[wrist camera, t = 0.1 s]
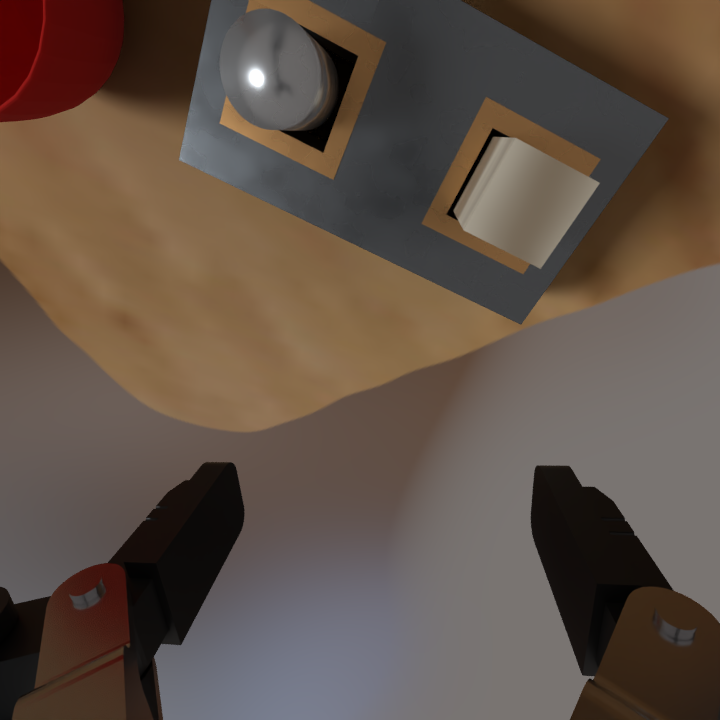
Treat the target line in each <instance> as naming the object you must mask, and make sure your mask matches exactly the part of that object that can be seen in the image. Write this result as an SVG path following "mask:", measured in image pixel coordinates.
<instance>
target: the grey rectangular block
mask: <svg viewBox="0 0 720 720" xmlns="http://www.w3.org/2000/svg"><path fill="white" fill-rule="evenodd" d="M599 184H600V183H599V182H597V181H595V180H594V179H592V178H590V177H588V176H586V175H584V174H582V173H580V172H579V171H577V170H575V169H573V168H571V167H569V166H567V165H566V164H564V163H562V162H560V161H558V160H556V159H554V158H553V157H551V156H549V155H547V154H545V153H543V152H541V151H539V150H538V149H536V148H534V147H532V146H530V145H528V144H526V143H525V142H523V141H521V140H519V139H517V138H510V137H492V139H491V141H490V143H489V145H488V146H487V148H486V150H485V152H484V154H483V156H482V158H481V159H480V161H479V163H478V165H477V167H476V169H475V170H474V172H473V174H472V176H471V178H470V180H469V182H468V183H467V185H466V187H465V189H464V191H463V193H462V195H461V196H460V198H459V200H458V202H457V204H456V206H455V208H454V209H453V211H454V213H455V215H456V217H457V219H458V221H459V223H460V225H461V227H462V228H463V230H464V231H466V232H468V233H470V234H472V235H474V236H476V237H478V238H480V239H482V240H484V241H486V242H488V243H490V244H492V245H494V246H496V247H498V248H500V249H502V250H504V251H506V252H508V253H510V254H512V255H514V256H516V257H518V258H520V259H522V260H524V261H526V262H528V263H530V264H532V265H534V266H536V267H538V268H540V269H541V268H542V266H543V265H544V263H545V262H546V260H547V259H548V257H549V256H550V255H551V253H552V252H553V250H554V249H555V247H556V246H557V244H558V243H559V242H560V240H561V239H562V237H563V236H564V234H565V233H566V231H567V230H568V229H569V227H570V226H571V224H572V223H573V221H574V220H575V218H576V217H577V216H578V214H579V213H580V211H581V210H582V208H583V207H584V205H585V204H586V203H587V201H588V200H589V198H590V197H591V195H592V194H593V192H594V191H595V190H596V188H597V187H598V185H599Z"/></svg>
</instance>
